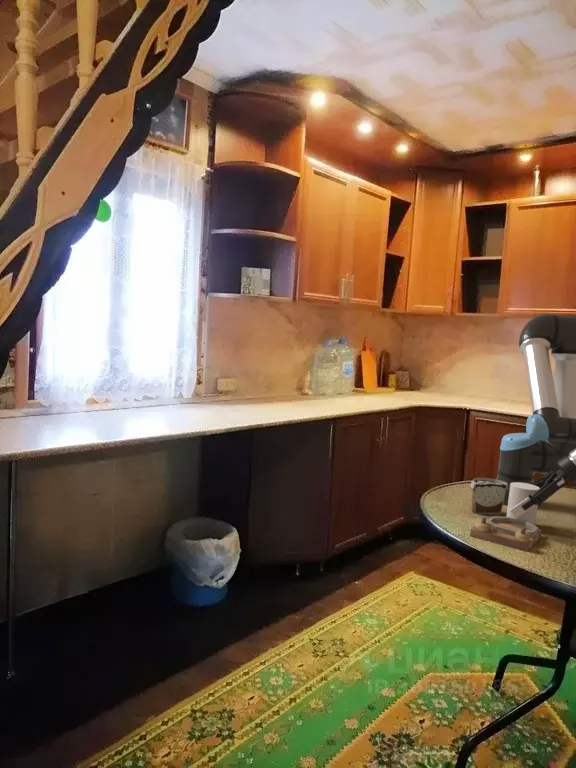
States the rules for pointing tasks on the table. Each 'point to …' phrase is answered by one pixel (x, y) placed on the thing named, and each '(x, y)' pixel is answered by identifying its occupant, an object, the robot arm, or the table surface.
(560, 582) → the table surface
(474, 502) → the food container
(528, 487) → the tall round pillar
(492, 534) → the gear board
